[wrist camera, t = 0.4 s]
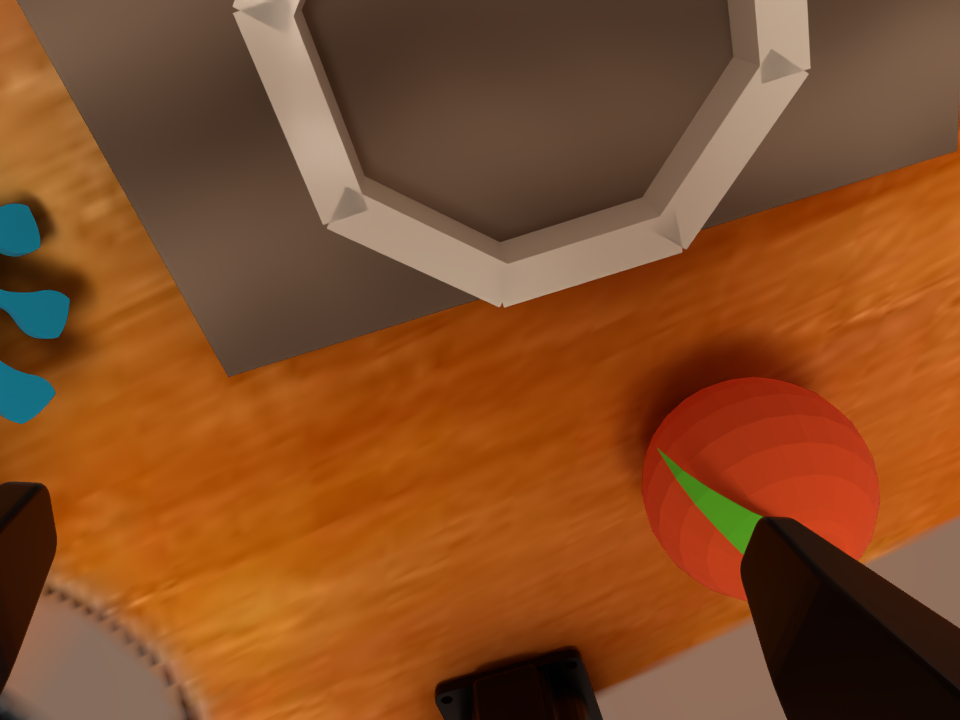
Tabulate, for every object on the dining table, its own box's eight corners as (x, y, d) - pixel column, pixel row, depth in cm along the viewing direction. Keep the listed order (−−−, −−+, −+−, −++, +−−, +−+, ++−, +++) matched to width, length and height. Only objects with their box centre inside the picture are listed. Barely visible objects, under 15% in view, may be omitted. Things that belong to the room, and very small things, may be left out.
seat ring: (789, 192, 21) (817, 210, 19) (376, 321, 21) (375, 347, 20) (747, -390, 15) (784, -425, 13) (167, -182, 15) (145, -194, 14)
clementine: (554, 443, 26) (604, 601, 20) (682, 287, 23) (786, 412, 17) (718, 524, 28) (806, 685, 22) (848, 393, 26) (989, 534, 20)
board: (934, 141, 21) (957, 150, 21) (234, 360, 23) (228, 377, 22) (955, -473, 15) (989, -498, 14) (-29, -119, 16) (-52, -122, 15)
